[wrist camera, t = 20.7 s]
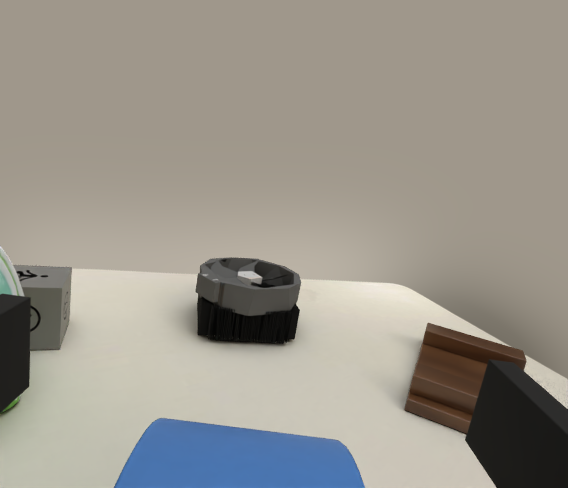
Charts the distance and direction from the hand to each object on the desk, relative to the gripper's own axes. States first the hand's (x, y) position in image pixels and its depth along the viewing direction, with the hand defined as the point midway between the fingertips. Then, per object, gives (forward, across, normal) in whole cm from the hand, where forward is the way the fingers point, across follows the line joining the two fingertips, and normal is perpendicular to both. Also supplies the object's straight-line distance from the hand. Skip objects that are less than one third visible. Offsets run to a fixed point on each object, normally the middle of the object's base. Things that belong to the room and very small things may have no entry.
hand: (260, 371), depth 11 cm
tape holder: (+21, +19, -11) cm, 30 cm away
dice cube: (+20, -18, -11) cm, 29 cm away
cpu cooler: (+28, -1, -11) cm, 30 cm away
